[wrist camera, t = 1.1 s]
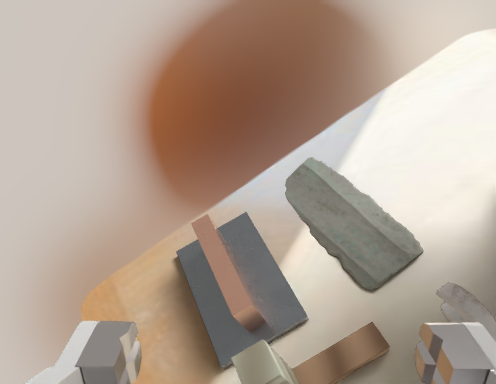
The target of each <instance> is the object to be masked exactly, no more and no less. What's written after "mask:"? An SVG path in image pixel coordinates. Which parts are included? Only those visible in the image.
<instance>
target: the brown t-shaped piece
mask: <svg viewBox="0 0 496 384" xmlns="http://www.w3.org/2000/svg"><path fill="white" fill-rule="evenodd" d="M389 347H390V346H389V345H388V343H387V342H386V340H385V339H384V338H383V336H382V335H381V333H380V332H379V330H378V329H377V328H376V326H375V325H374V323H373V322H371V323H370V324H368V325H366V326H364V327H363V328H361V329H359V330H358V331H356V332H354V333H353V334H351V335H349V336H348V337H346V338H344V339H343V340H341V341H339V342H338V343H336V344H334V345H333V346H331V347H329V348H328V349H326V350H324V351H323V352H321V353H319V354H317V355H316V356H314V357H312V358H311V359H309V360H307V361H306V362H304V363H302V364H301V365H299V366H297V367H296V368H294V369H291V368H290V367H289V366H288V365H287V364H286V363H285V362H284V361H283V359H282V358H281V357H280V356H279V355H278V354H277V353H276V352H275V351H274V350H273V349H272V348H271V347H270V346H269V345H268V344H267V343H266V342H265V341H264V340H263V339H262V340H260V341H259V342H257V343H255V344H254V345H252V346H250V347H249V348H247V349H245V350H243V351H242V352H240V353H238V354H237V355H235V356H233V357H232V358H231V359H232V361H233V363H234V366H235V368H236V371H237V373H238V376H239V378H240V380H241V383H242V384H335V383H337V382H338V381H340V380H342V379H343V378H345V377H347V376H348V375H350V374H352V373H353V372H355V371H357V370H358V369H360V368H361V367H363V366H365V365H366V364H368V363H370V362H371V361H373V360H375V359H376V358H378V357H380V356H381V355H383V354H385V353H386V352H388V351H389Z"/></svg>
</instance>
